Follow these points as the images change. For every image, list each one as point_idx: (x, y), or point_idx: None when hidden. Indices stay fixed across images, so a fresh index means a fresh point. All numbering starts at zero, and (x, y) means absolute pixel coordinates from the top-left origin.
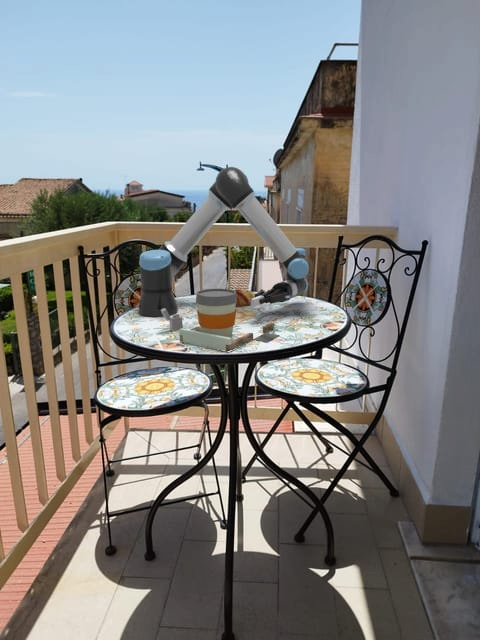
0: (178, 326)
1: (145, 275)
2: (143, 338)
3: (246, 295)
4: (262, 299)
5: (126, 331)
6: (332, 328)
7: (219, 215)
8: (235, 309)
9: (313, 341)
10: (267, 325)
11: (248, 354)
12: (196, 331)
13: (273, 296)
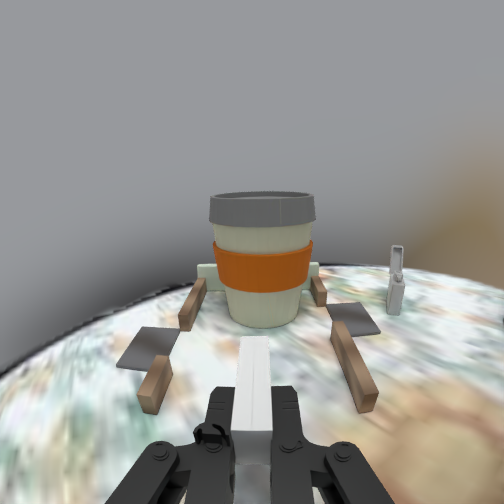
0: (388, 300)
1: None
2: (375, 275)
3: None
4: (217, 396)
5: (427, 277)
6: None
7: None
8: (224, 251)
9: (38, 354)
10: (155, 367)
11: (166, 291)
12: None
13: (142, 462)
